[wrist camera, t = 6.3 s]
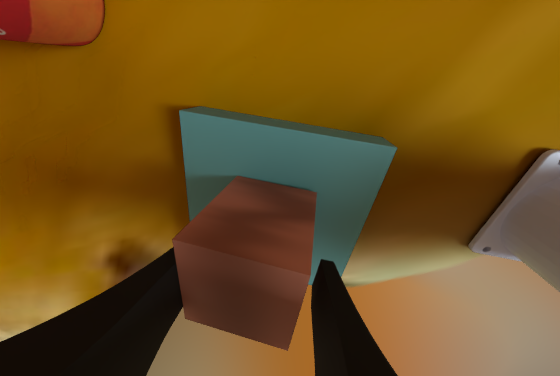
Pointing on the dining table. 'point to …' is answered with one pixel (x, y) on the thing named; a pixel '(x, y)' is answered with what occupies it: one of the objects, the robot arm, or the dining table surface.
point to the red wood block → (248, 260)
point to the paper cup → (51, 21)
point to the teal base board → (288, 169)
